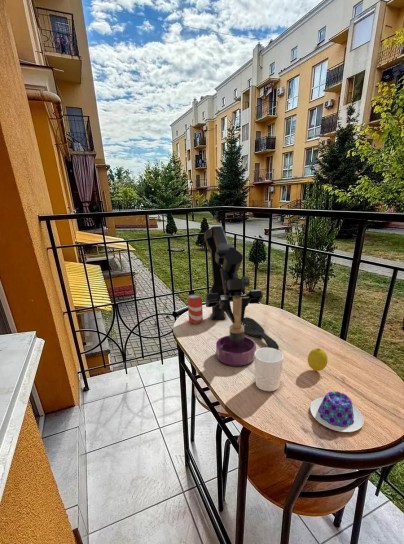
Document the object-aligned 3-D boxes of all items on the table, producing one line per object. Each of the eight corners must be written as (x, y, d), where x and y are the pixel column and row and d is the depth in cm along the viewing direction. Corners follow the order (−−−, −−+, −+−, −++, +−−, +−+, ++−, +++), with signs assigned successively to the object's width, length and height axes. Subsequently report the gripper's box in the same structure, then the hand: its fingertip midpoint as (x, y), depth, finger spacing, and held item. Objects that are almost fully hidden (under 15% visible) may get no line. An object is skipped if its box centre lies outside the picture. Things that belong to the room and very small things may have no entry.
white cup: (276, 396, 77) (278, 365, 73) (249, 387, 81) (250, 357, 77) (284, 381, 83) (287, 351, 79) (259, 373, 87) (260, 345, 83)
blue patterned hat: (300, 403, 74) (302, 387, 72) (340, 395, 76) (343, 379, 74) (329, 439, 63) (332, 421, 61) (375, 428, 65) (379, 410, 63)
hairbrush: (267, 347, 96) (236, 316, 118) (266, 356, 97) (236, 324, 119) (288, 342, 98) (253, 314, 120) (287, 351, 100) (253, 321, 121)
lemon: (316, 378, 83) (319, 354, 81) (302, 369, 88) (305, 346, 85) (329, 372, 86) (333, 349, 83) (315, 364, 90) (318, 342, 88)
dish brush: (240, 333, 97) (240, 294, 92) (246, 340, 93) (247, 298, 88) (226, 336, 96) (226, 296, 91) (233, 342, 91) (233, 301, 86)
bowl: (217, 346, 103) (216, 334, 101) (253, 347, 102) (253, 334, 100) (216, 367, 91) (215, 353, 89) (257, 367, 90) (257, 354, 88)
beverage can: (195, 325, 121) (193, 299, 116) (186, 321, 125) (184, 296, 121) (205, 321, 124) (204, 296, 120) (196, 317, 129) (195, 292, 125)
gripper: (205, 269, 89) (212, 315, 82) (262, 265, 91) (272, 310, 84) (203, 286, 99) (208, 327, 93) (254, 282, 101) (263, 322, 95)
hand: (237, 322), depth 91 cm, fingers closed on dish brush, 3 cm apart
